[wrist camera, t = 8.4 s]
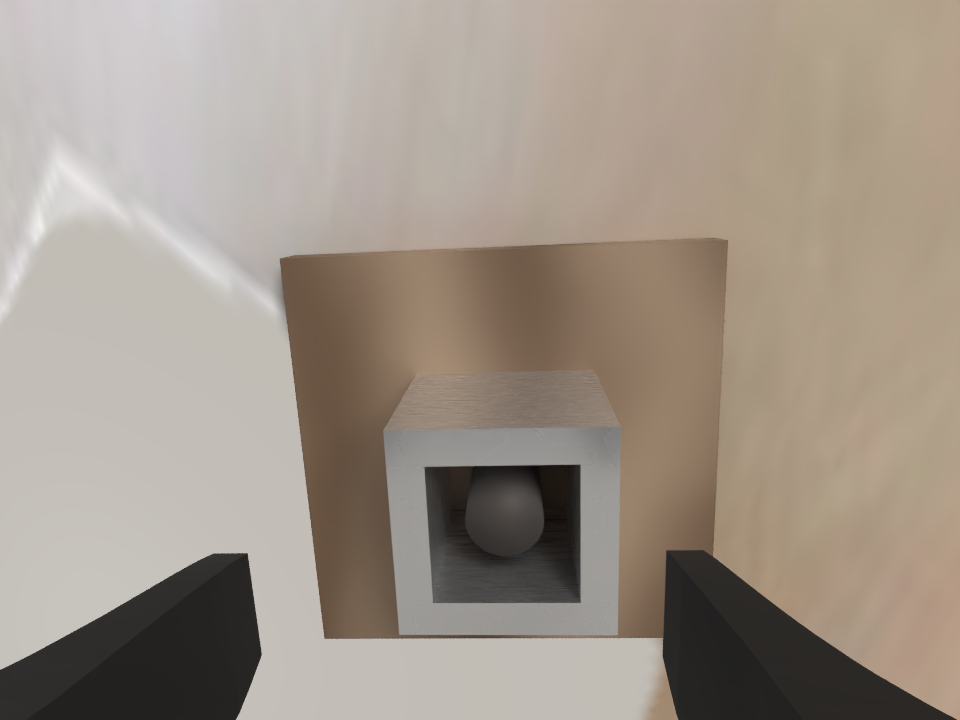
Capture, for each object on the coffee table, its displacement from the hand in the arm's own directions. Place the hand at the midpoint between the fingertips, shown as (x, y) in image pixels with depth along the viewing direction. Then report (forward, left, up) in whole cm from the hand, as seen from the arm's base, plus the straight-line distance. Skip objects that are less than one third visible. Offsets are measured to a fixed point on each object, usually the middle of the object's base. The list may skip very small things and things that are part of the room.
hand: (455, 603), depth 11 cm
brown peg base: (+1, -1, -10) cm, 10 cm away
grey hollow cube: (+1, -1, -9) cm, 9 cm away
